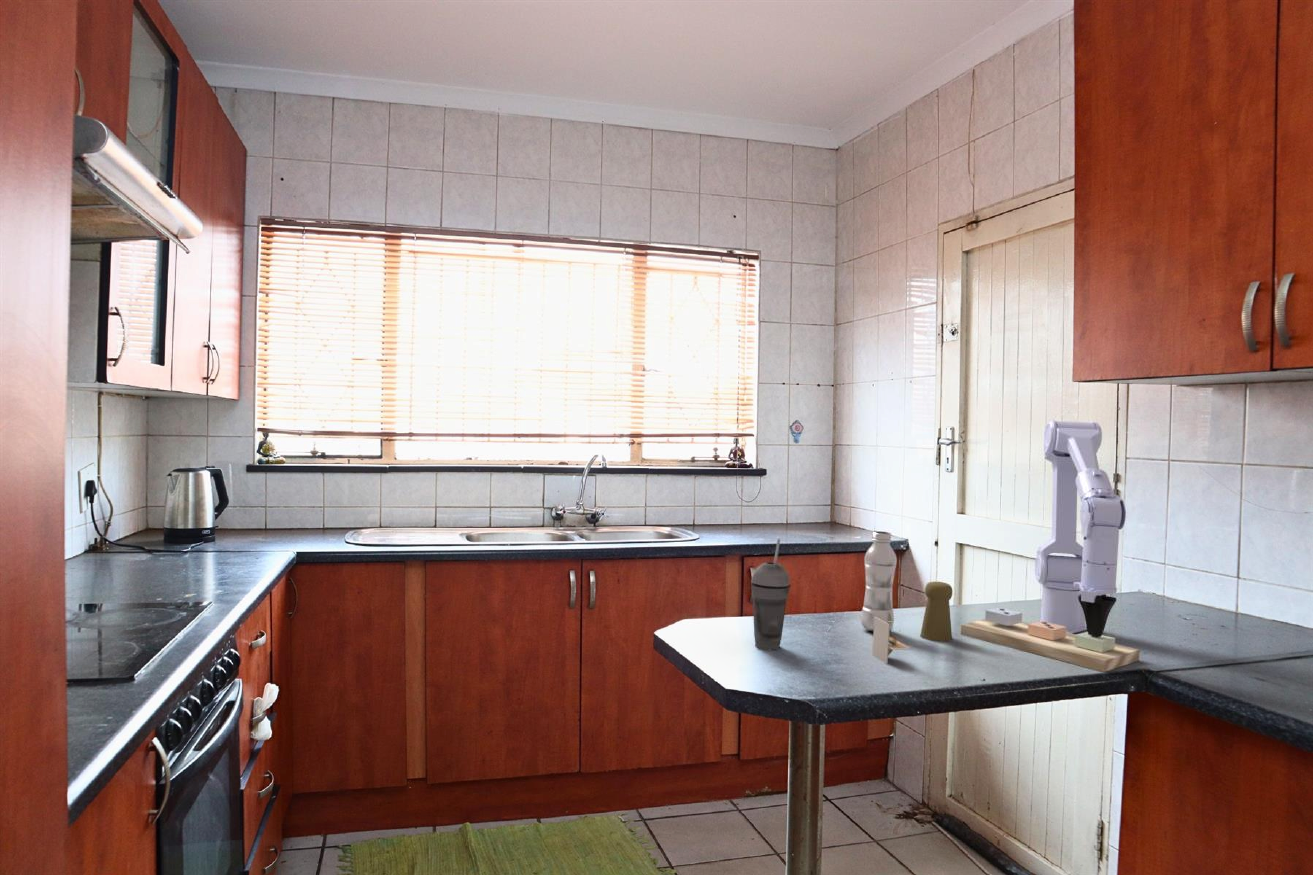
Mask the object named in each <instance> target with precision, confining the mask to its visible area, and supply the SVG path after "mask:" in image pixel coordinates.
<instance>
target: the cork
mask: <svg viewBox="0 0 1313 875" xmlns="http://www.w3.org/2000/svg"><path fill="white" fill-rule="evenodd" d="M953 592H954V591H953V587H952V586H951V584H949V583H946V582H943V581H929V582H927V584H926V585H925V588H924V594H925V596H926V598H927V600H926V603H925V610H924V615H923V621H922V626H921V631H920V635H919V636H920V638H922V639H925V640H928V641H932V642H939V643H941V642H944V643H948V642H951V641H953V636H952V635H953V632H952V621H951V620H952V619H951V618H952V617H951V608H950V600H951V599H952V596H953Z"/></svg>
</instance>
